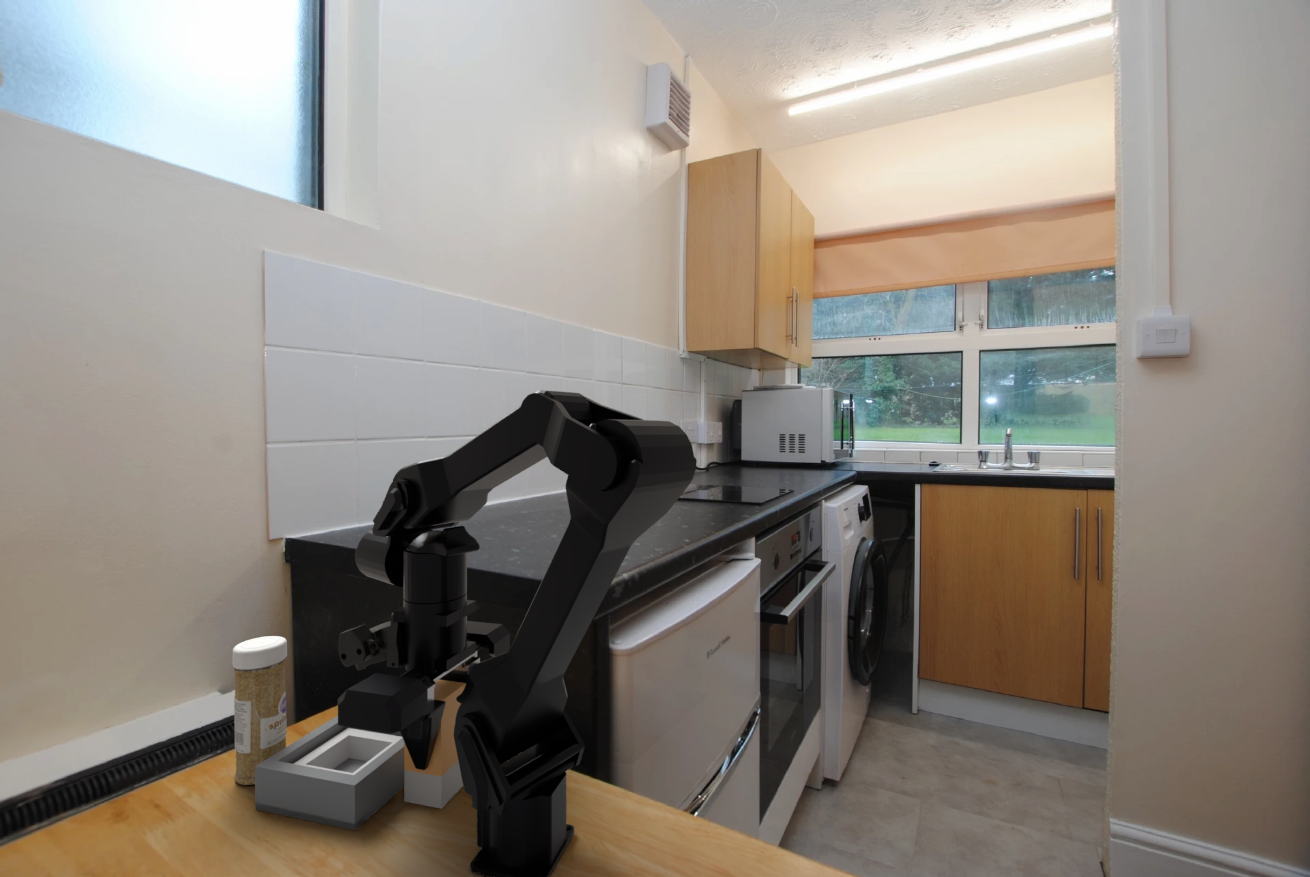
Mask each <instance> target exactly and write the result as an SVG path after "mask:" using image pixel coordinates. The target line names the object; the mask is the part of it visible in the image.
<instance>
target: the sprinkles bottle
mask: <svg viewBox="0 0 1310 877" xmlns="http://www.w3.org/2000/svg"><path fill="white" fill-rule="evenodd" d="M287 656H288V641H287V639H286V638H285V637H284V636H280V635H279V636H278V635H270V636H269V635H268V636H260V637H254V638H251V639H247V640H244V641H242V642H239V643H238V644H236V645H235V646H234V647H233V648H232V664H231V665H232V668H233V670H234V697H233V700H234V701H233V703H234V705H233V707H234V708H233V711H234V714H233V715H234V750H235V768H236V769H235V773H234V781H235V782H236V783H237V784H239V785H243V786H251V785H255V766H256V765H258V764H259V763H261V762H263V761H264V760H266V759H268V758H269V757H271V756H272V755H274V754H276V753H277V752H279V751H281V750H282V749H284V748H286V747H287V732H288V731H287V693H286V662H287V661H286V660H287V659H286V658H287Z"/></svg>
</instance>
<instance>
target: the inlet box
mask: <svg viewBox="0 0 1310 877" xmlns="http://www.w3.org/2000/svg"><path fill="white" fill-rule="evenodd" d="M403 788H404V740H403V737H402V735H401V733H400V731H399V732H395V733H391V734H390V733H384V732H378V731H371V730H365V729H359V728H353V727H347V726H341V725H338V715H336V716H335V717H332V718H331V719H330V720H328V721H326V722H324V723H323V724H321V725H320V726H318V727H317V728H315V729H313V730H312V731H310V732H309V733H307V734H305V735H304V736H302V737H300V738H299V739H297V740H296V741H294V742H291V744H289V745H286V748H284V749H282V750H281V751H279V752H277V753H276V754H274V755H272V756H271V757H269V758H268V759H266V760H264V761H263V762H261V763H259V764H258V765H256V766H255V784H254V793H255V794H254V801H255V802H254V804H255V805H254V806H255V810H258V811H262V812H265V813H266V812H267V813H271V814H276V815H280V816H285V817H291V818H294V819H300V820H303V821H309V822H313V823H318V824H321V825H327V826H333V827H334V828H335V827H336V828H340V829H345V830H350V831H354V832H355V831H357V830H358V829H359V828H360V827H361V826H362V825H363V824H364V823H366V821H368V820H369V819H370V818H371V817H373V815H375V813H376V812H378V811H379V810H380V809H381V808H382V807H383V806H385V804H387V803H388V802H389V801H390V800H391V799H392V798H393V797H395V795H397V794H398V793H399V792H400V791H401V790H403Z"/></svg>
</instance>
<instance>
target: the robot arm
mask: <svg viewBox="0 0 1310 877" xmlns="http://www.w3.org/2000/svg"><path fill="white" fill-rule="evenodd" d="M520 404H521V405H519V406H518V407H516V408H515V409H514V410H512V411H510V412H509V413H508V414H506V415H505V416H504V417H502V418H501V419H499V420H498V421H495V423H493V424H492V425H491V426H489V427H488V428H486V429H485V430H484V431H482V432H481V433H479V434H478V435H476V436H475V437H473V438H471V439H470V440H469V441H467V442H466V443H464V445H462V446H460V447H459V448H457V449H456V450H455V451H453V452H452V453H449V454H446V455H444V456H439V457H435V458H430V459H429V458H428V459H425V460H420V461H417V462H414V463H412V464H409V465H406V466H403V467H401V468H400V469H399V470H397V472H396V474H395V475H394V477H393V479H392V482H391V483H390V485H389V487H388V489H387V492H386V495H385V497H384V499H383V501H382V504H381V507H380V508H379V509H378V511H377V512H376V514H375V516H374V517H373V519H372V522H373V527H372V529H370V530H368V531H367V532H366V533H365V534H364V535H363V536H362V537H361V539H360V540H359V542H358V544H357V547H356V549H355V551H354V560H355V564H356V566H357V568H358V570H359V572H360V573H362V574H363V575H365V577H368V578H371V579H374V580H377V581H380V582H383V583H386V584H389V585H393V586H396V587H399V588H403V602H402V603H403V605H402V606H401V607H399V608H397V609H395V610H393V611H392V613H391V615H390V621H386V622H384V623H380V624H378V625H376V626H373V627H371V628H369V627H368V626H367V625H366V624H361V625H358V626H357V627H352V628H349V629H347V630H345V631H343V632H340V633H339V637H338V647H337V652H338V656H339V659H340V662H341V665H343V666H345V667H347V668H348V667H351V666H355V668H356V671H362V670H365V669H366V668H367V666H370V665H374V664H377V663H381V662H385V661H386V667H387V668H388V667H389V668H397V669H398V668H399V667H405V671H406V672H404V673H401V674H400V675H392V674H388V673H387V674H385V673H378V672H375V673H373V674H371V675H369V676H368V677H366V678H365V679H363V680H360V681H358V682H357V683H356V684H354V685H352V686H351V687H349V688H347V689H345V691H344V692H342V694H341V695H340V696H339V697H338V698H337V716H338V725H341V726H347V727H353V728H359V729H365V730H371V731H378V732H384V733H390V734H391V733H395V732H399V731H400V733H401V735H402V737H403V740H404V742H405V745H406V747H407V749H408V752H409V754H410V756H411V759H412V761H413V764H414V766H415V768H416V769H420V770H425V769H427V768H428V765H429V762H430V759H431V756H432V753H433V749H434V745H435V742H436V738H437V734H438V730H439V726H440V723H441V719H442V715H443V712H444V708H445V704H446V701H440V700H434V688H435V682H436V681H437V680H447V681H454V682H462V683H466V686H465V689H464V690H463V692H462V693H461V694H460V695H459V696H458V697H457V698H456V700H457V701H458V702H459V703H461V705H460V706H459V708H458V711H457V715H456V720H455V727H454V740H455V745H456V751H457V756H458V761H459V766H460V772H461V777H462V782H463V785H464V786H463V790H464V792H465V793H466V795H468V796H469V797H471V798H472V800H471V801H472V802H471V803H472V805H471V808H473V809H474V810H476V846H477V847H478V848H480V850H479V851H478V852H477V853H476V855H475V856H474V857H473V858H472V860H471V861H470V863H469V865H470V866H469V870H470V872H472V873H473V874H479V875H482V876H483V875H484V876H487V877H550V876H551V875H552V874H553V871H554V870H555V868H556V866H557V864H558V863H559V861H560V859H561V858H562V856H563V854H564V852H565V851H566V849H567V847H568V845H569V843H570V842H571V840H572V838H573V837H574V834H575V826H574V825H572V824H567V771H568V770H570V769H572V768H573V767H574V768H575V767H576V766H578V765H580V763H581V761H582V758H583V754H584V750H585V745H586V744H585V742H584V741H583V739H582V737H581V735H580V733H579V732H578V730H577V728H576V726H575V724H574V723H573V720H572V718H571V717H570V715H569V713H568V712H567V710H566V704H567V701H568V691H567V688H566V684H565V680H564V679H565V678H564V676H565V673H566V671H567V669H568V667H569V665H570V664H571V661H572V659H573V658H574V656H575V654H576V652H577V650H578V648H579V645H580V644H581V642H582V640H583V638H584V637H585V635H586V633H587V631H588V628H589V627H590V625H591V623H592V621H593V620H594V617H595V616H596V614H597V612H598V610H599V609H600V605H601V604H602V603H603V600H604V599H605V596H606V595H607V592H608V590H609V589H610V587H611V584H612V583H613V580H614V579H615V577H616V576H617V573H618V571H619V569H620V568H621V566H622V564H623V562H624V560H625V558H626V556H627V555H628V552H629V550H630V549H631V547H632V545H633V544H634V543H635V541H636V540H637V539H638V538H640V537H641V536H642V535H643V534H644V533H646V532H647V531H648V530H649V529H651V527H652V526H654V525H655V524H656V523H658V521H659V520H661V518H663V517H664V516H666V515H667V513H669V511H670V510H671V509H672V508H673V506H674V505H675V504H676V502H677V501H678V500H679V499H680V497H681V496H682V494H683V493H684V492H685V491H686V490H687V489H688V487H689V486H690V484H691V483H692V481H693V479H694V476H695V473H696V470H697V463H698V462H697V458H696V457H695V455H694V450H693V444H692V443H691V440H690V439H689V437H688V434H687V433H686V432H685V431H684V430H683V429H682V428H681V427H680V425H677V424H675V423H673V422H672V421H669V420H653V419H652V420H651V419H643V418H641V417H638V416H635V415H632V414H629V413H626V412H623V411H621V410H619V409H618V410H617V409H615V408H611V407H609V406H606V405H603V404H601V403H598V402H597V401H594V400H592V399H590V398H588V397H586V396H584V394H581V393H580V392H573V391H571V392H569V391H558V390H557V391H556V390H544V389H543V390H542V389H539V390H537V391H534V392H533V393H529V394H528V395H526V396H525V398H524V399H523V400H522V403H520ZM545 459H548V460H549V462H550V464H551V465H552V466H553V467H555V468H557V469H558V470H559V471H561V472H563V473H564V474H566V475H567V478H566V482H565V492H566V497H567V498H566V499H567V503H568V504H567V505H568V509H569V514H570V515H569V516H570V519H569V522H568V524H567V527H566V528H565V530H564V533H563V535H562V537H561V539H560V541H559V544H558V545H557V548H556V550H555V552H554V554H553V556H552V558H551V560H550V563H549V564H548V567H547V569H546V570H545V573H544V575H543V577H542V580H541V582H540V584H539V586H538V589H537V590H536V593H535V594H534V597H533V599H532V601H531V604H530V606H529V608H528V610H527V612H526V614H525V615H524V617H523V618H524V619H523V620H522V623H521V625H520V627H519V629H518V631H517V633H516V635H515V637H514V639H513V641H512V644H511V632H509V630H508V629H507V628H506V627H505V625H504V624H503V623H495V622H494V623H493V622H482V621H473V620H468V616H469V615H471V614H473V613H474V612H476V611H477V602H476V600H473V599H472V600H471V599H470V600H469V599H468V595H467V594H468V592H467V590H468V584H467V583H468V573H467V572H468V567H467V566H468V559H467V558H468V553H473V552H477V551H479V550H480V544H479V542H478V541H477V539H476V538H475V537H473V535H471V534H470V533H469V531H467V529H466V527H465V526H464V525H459V526H457V525H458V524H459V523H461V522H466V521H468V520H470V519H471V518H472V517H474V516H475V515H476V514H477V512H479V511H480V510H481V509H482V508H483V507H484V506H486V504H487V502H488V498H489V497H488V496H489V493H490V492H491V491H492V490H494V489H495V488H496V487H498V486H500V485H503V483H505V482H507V481H508V480H510V479H512V478H513V477H515V476H517V475H518V474H520V473H522V472H525V471H526V470H527V469H528V468H531V467H533V466H534V465H536V464H538V463H539V462H541V461H543V460H545ZM440 529H442V530H440ZM481 649H488V654H489V656H491V658H488V659H485V660H483V661H481V657H480V656H478V651H479V650H481Z"/></svg>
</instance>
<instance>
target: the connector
mask: <svg viewBox="0 0 1310 877" xmlns="http://www.w3.org/2000/svg"><path fill="white" fill-rule="evenodd" d="M465 686H466V683H462V682H454V681H447V680H437V681H436V682H435V688H434V700H440V701H446V704H445V708H444V712H443V715H442V719H441V723H440V726H439V730H438V734H437V738H436V742H435V745H434V749H433V753H432V756H431V759H430V762H429V765H428V768H427V769H425V770H420V769H416V768H415V766H414V764H413V761H412V759H411V756H410V754H409V752H408V749H407V747H406V745H405V742H404V787H403V788H404V794H403V795H404V796H403V798H404V799H403V800H404V802H405V803H411V804H415V805H421V806H426V807H431V808H436V809H441V810H442V809H443V808H444V807H445V806H446V805H447V803H448V802H449V801H450V800H452V798H453V797H454V796H455V795H456V794H457V793H458V792H459V791H461V789H462V788H464V785H463V782H462V777H461V772H460V766H459V761H458V756H457V751H456V745H455V740H454V727H455V720H456V715H457V711H458V708H459V706H460V705H461V703H459V702H458V701H457V700H456V698H457V697H458V696H459V695H460V694H461V693H462V692H463V690H464V689H465Z"/></svg>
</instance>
